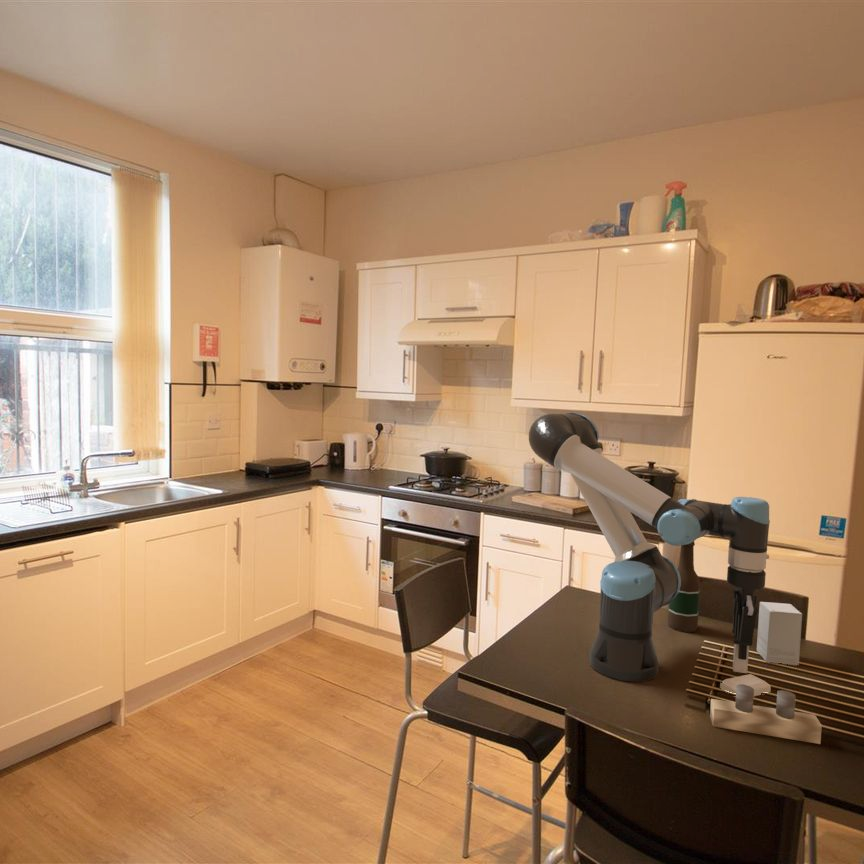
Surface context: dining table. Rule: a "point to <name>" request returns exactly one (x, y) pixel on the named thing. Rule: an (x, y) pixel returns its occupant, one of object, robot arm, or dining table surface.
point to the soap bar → (748, 680)
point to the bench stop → (765, 716)
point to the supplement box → (779, 633)
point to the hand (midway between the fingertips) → (739, 670)
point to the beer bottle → (686, 594)
